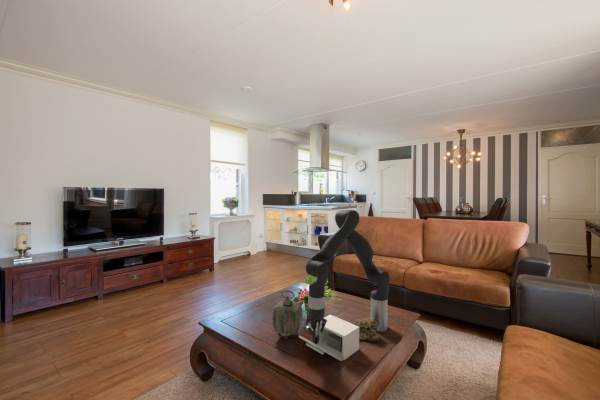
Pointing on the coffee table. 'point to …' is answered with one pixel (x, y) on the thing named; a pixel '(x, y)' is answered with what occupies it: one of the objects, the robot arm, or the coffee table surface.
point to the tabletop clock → (287, 316)
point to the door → (319, 348)
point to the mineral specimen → (367, 329)
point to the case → (339, 337)
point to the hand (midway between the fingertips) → (315, 343)
